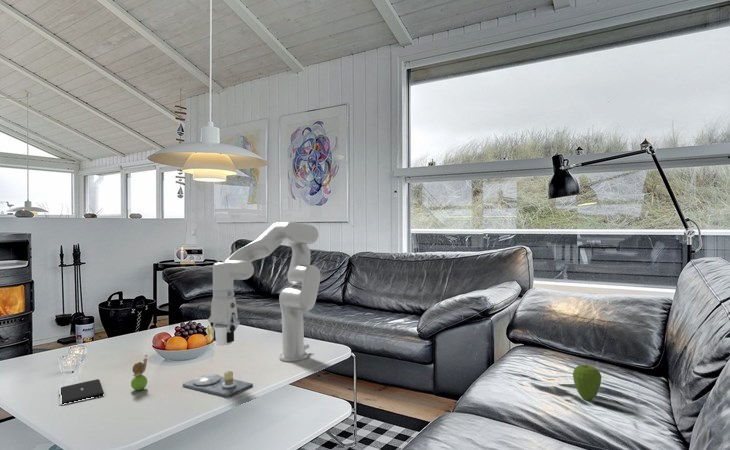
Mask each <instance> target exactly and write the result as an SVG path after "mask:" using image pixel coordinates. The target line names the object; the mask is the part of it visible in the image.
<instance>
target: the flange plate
mask: <svg viewBox="0 0 730 450" xmlns="http://www.w3.org/2000/svg"><path fill="white" fill-rule="evenodd" d="M223 373H224V376H220V375H219V374H217V373H207V374H201V375H197V376H195V377H193V378H192V379H191V380H187V381H186V382H184V383H182V387H184V388H188V389H191V390H195V391H199V392H203V393H208V394H212V395H216V396H220V397H224V398H228V399H229V398H231V397H232V396H235V395H238V394H239V393H241V392H243V391H246V390H248V389H249V388H252V387H253V386H254V383H251V382H247V381H243V380H238V379H234V371H225V372H223Z"/></svg>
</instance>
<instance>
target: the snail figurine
mask: <svg viewBox="0 0 730 450" xmlns="http://www.w3.org/2000/svg"><path fill="white" fill-rule="evenodd" d="M147 363H148V355H147V354H145V355H144V358H143V362H142V361H137V362H135V363H134V365H133V366H132V373H133V375H132V376H133V378H132V379H131V382H130V387H131V389H133V390H134V391H142V390H143V389H146V387H147V385H148V379H147V377H146V375H143V374H144V373H145V371H146V369H147Z"/></svg>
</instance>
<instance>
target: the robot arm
mask: <svg viewBox="0 0 730 450" xmlns="http://www.w3.org/2000/svg"><path fill="white" fill-rule="evenodd" d="M318 238H319V230H318V229H317V227H316V226H314V225H312V224H307V223H302V222H301V223H300V222H295V221H278V222H274V223H273V224H271V225H270V227H268V228H267V229H266V230H265V231H264V232H263V233H262V234H261V235H260V236H259V237H257V238H256V239H255V240H254V241H252V242H250V243H248V244H247V245H245V246H243V247H242V246H241V248H239V249H237V250H236V251H234V252H233V253H232V254H231V255H230V256H229V257H228V258H227V259H226V260H225V261H218V262H215V263H213V265H212V299H211V304H210V305H211V306H210V316H209V317H208V318H207V321H208V322H209V324H210V327H211V329H212V331H213V332H212V333H213V341H214V342H216V337H215V328H214V326H216V325H219V324H222V325H226V327H227V330H228V332H227V343H230V342H235V331H236V330H237V328H238V326H239V325H240V323H241V322H240V320H239V317H238V316H239V315H238V307H237V301H236V298H235V297H234V296H235V291H234V280H241V281H243V280H248V279H249V278H251V277H252V276H253V275H254V272H255V267H254V265H253V264H252V263H251V262H253V261H256V260H260V259H264V258H266V257H268V256H270V255H271V254H272V253H273V252H274V251H275V250H277V248H278V247H279V246H280V245H281V244H283V243H284V242H288V243H289V246H290V247H291V252H292V254H291V259H290V264H289V269H288V273H287V281H288V282H289V283H290V284H292V285H295V286H301V288H300V287H293V286H292V287H290V286H289V287H286V288H284V289H282V290H281V292H280V293H279V295H278V296H279V299H278V302H279V306H280V310H281V331H282V332H281V334H282V335H281V337H282V339H281V340H282V343H281V344H282V353H281V354H279V356H278V358H279V360H280V361H282V362H300V361H303V360H305V359H307V358H308V353H307V352H306V350H308V349H310V347H311V346H310V344H308V343H307V344H304V343H305V342H304V341H305V340H304V337H305V336H304V334H305V333H304V315H303V311H304V312H306V311H307V312H308V311H310V310H312V309H313V308H314V307H315V305H316V301H317V297H318V293H319V288H320V284H321V283H320V282H321V271H320V269H319V268H318V266H315V265H313V264H311V263H310V261H311V256H312V254H311V249H310V247H309V245H312V244H315V243H316V242H317V240H318ZM230 325H231V326H232V327H231V328H230Z"/></svg>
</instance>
